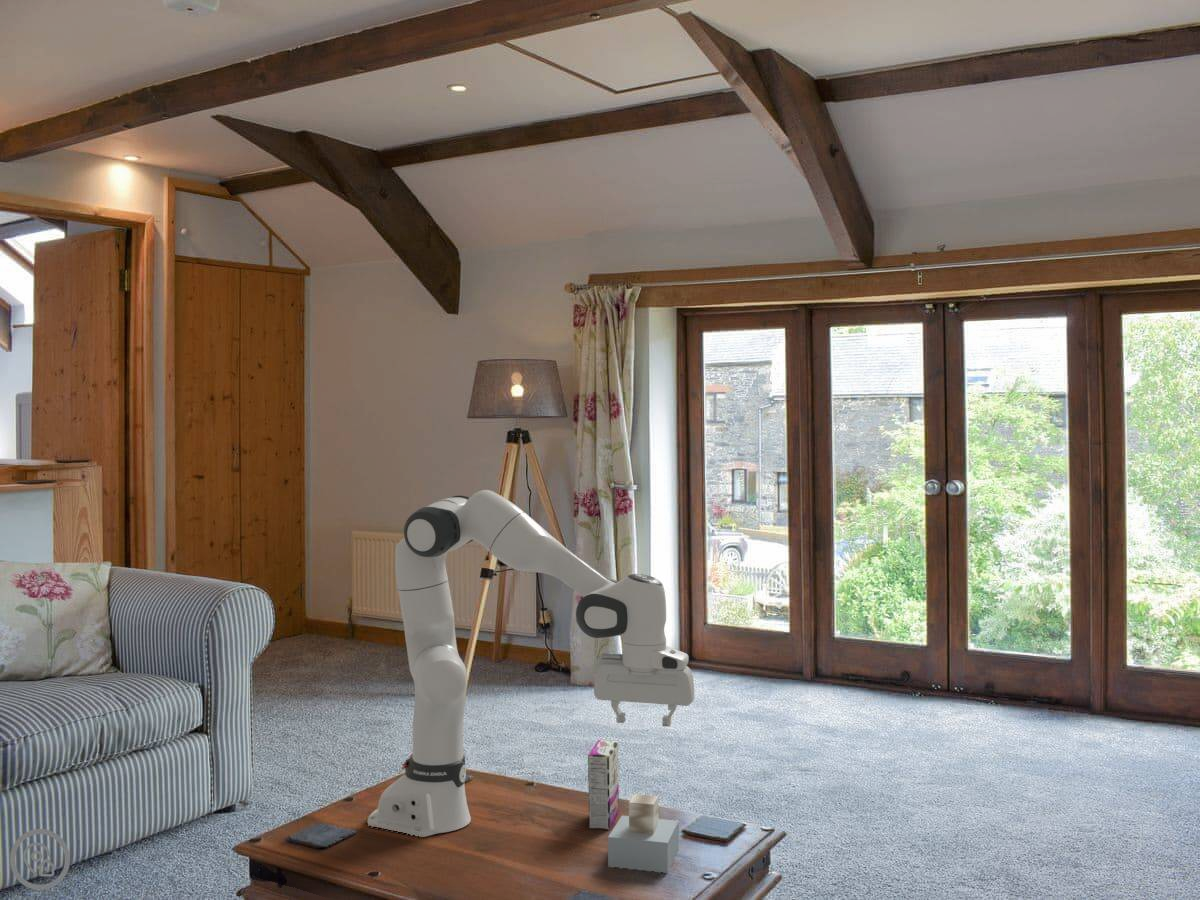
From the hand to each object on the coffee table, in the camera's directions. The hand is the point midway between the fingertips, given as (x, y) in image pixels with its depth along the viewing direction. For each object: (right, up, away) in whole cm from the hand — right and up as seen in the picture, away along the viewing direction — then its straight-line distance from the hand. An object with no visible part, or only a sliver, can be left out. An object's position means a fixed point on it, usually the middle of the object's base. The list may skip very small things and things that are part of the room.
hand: (643, 724), depth 219 cm
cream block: (0, -21, 0) cm, 21 cm away
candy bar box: (-8, -27, +21) cm, 35 cm away
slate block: (0, -27, 0) cm, 27 cm away
